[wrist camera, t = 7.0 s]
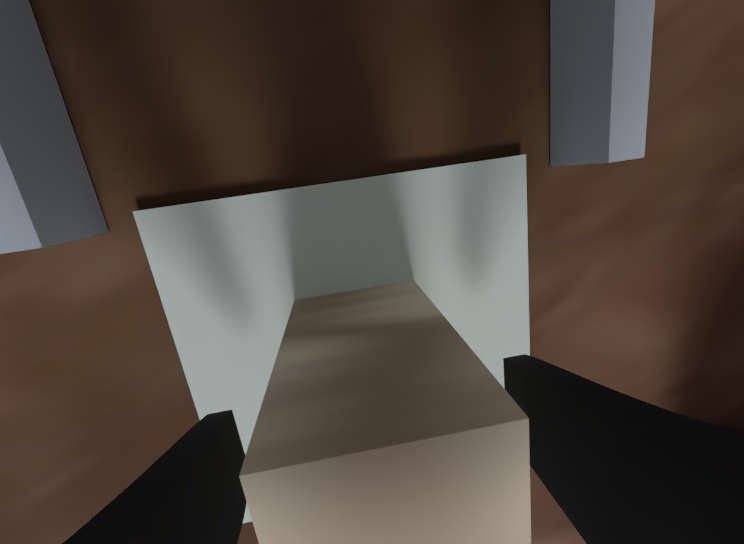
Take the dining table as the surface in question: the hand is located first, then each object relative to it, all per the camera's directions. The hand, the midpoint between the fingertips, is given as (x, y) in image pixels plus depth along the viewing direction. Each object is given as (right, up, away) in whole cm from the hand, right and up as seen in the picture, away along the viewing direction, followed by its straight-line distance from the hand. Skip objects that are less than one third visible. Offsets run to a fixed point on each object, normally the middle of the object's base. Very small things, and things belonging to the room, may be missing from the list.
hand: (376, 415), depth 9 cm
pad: (0, +1, +3) cm, 3 cm away
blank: (0, +1, +3) cm, 3 cm away
